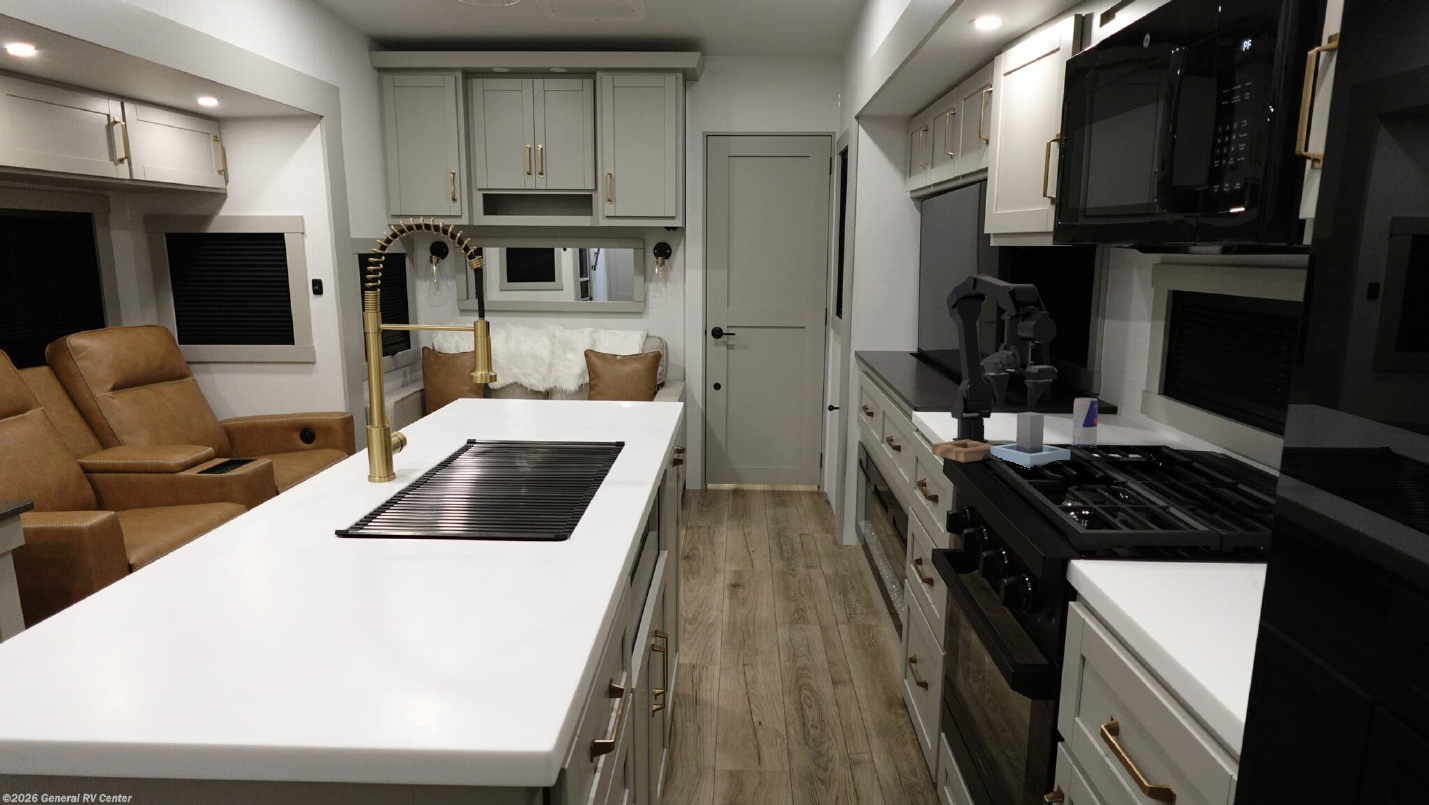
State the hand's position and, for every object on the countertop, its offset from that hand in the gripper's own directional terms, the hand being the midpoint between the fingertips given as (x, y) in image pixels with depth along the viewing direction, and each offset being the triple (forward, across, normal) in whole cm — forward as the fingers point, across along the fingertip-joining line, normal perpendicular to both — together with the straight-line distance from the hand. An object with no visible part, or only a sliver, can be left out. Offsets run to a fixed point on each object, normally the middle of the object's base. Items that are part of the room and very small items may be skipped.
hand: (1015, 406), depth 184 cm
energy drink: (+12, +1, +22) cm, 26 cm away
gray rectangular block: (+11, +5, 0) cm, 12 cm away
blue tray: (+12, +6, 0) cm, 13 cm away
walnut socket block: (+12, -6, -8) cm, 16 cm away
